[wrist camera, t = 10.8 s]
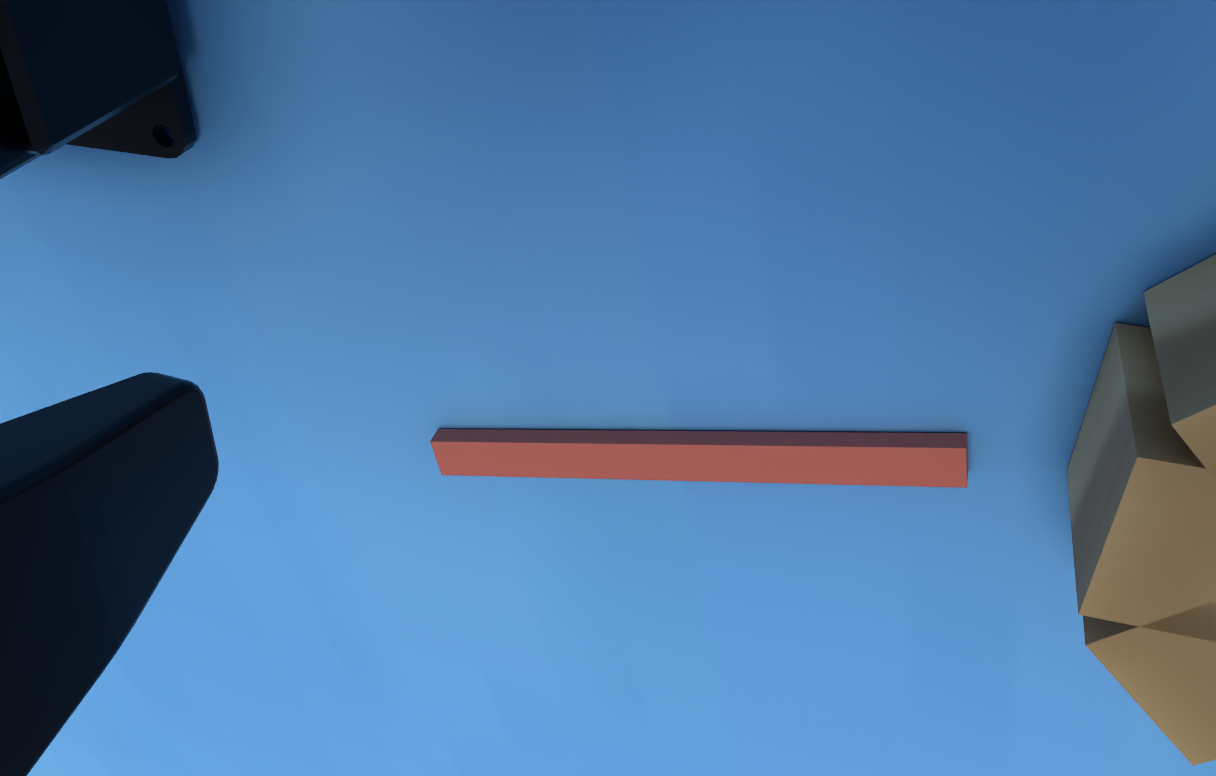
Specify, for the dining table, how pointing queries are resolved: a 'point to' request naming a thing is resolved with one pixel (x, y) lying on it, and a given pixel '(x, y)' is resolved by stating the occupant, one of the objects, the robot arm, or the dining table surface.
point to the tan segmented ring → (1154, 510)
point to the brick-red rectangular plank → (708, 456)
